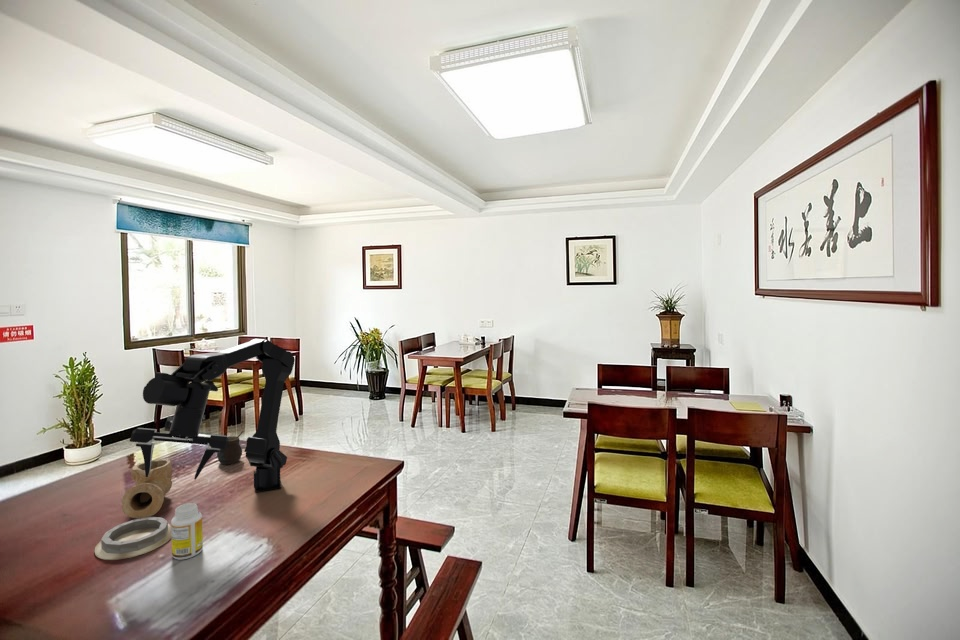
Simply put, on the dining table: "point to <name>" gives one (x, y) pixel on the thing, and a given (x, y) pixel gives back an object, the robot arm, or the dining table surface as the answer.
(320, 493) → the dining table surface
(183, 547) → the supplement bottle
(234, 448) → the mate gourd
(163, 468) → the pipe
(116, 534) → the holder ring
